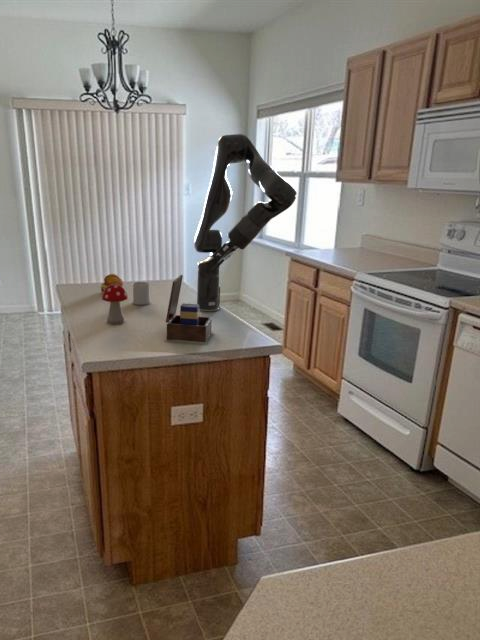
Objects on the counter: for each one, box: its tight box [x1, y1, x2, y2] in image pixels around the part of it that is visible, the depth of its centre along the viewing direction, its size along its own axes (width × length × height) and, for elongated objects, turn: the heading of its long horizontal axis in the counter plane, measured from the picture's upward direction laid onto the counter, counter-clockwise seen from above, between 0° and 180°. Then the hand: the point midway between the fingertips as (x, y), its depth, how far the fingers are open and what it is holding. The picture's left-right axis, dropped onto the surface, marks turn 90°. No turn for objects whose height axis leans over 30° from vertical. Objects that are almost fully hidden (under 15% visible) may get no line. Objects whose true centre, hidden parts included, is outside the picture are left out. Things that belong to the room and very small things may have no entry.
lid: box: [165, 274, 184, 324], centre depth 187 cm, size 15×13×1 cm
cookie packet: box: [179, 302, 201, 326], centre depth 189 cm, size 6×5×11 cm
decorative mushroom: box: [101, 284, 129, 325], centre depth 206 cm, size 10×9×15 cm
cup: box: [132, 281, 150, 306], centre depth 238 cm, size 7×10×9 cm
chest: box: [166, 314, 213, 343], centre depth 190 cm, size 14×13×6 cm
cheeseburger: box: [99, 273, 124, 293], centre depth 256 cm, size 10×11×10 cm
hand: (211, 266), depth 182 cm, fingers open, 8 cm apart
